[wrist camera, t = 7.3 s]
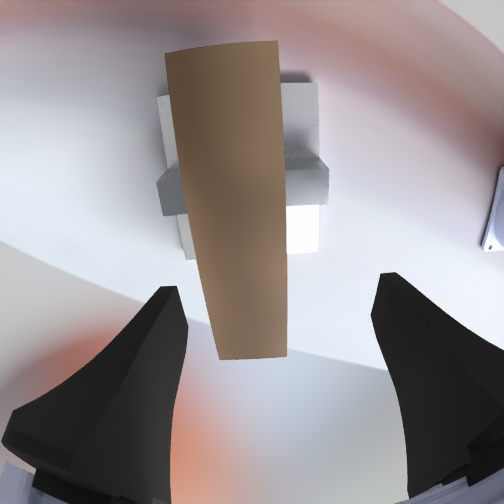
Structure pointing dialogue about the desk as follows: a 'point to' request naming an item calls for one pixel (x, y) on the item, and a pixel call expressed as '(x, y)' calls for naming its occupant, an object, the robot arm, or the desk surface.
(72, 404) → the robot arm
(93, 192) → the desk surface
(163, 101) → the balance stand
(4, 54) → the desk surface
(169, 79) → the walnut rod
